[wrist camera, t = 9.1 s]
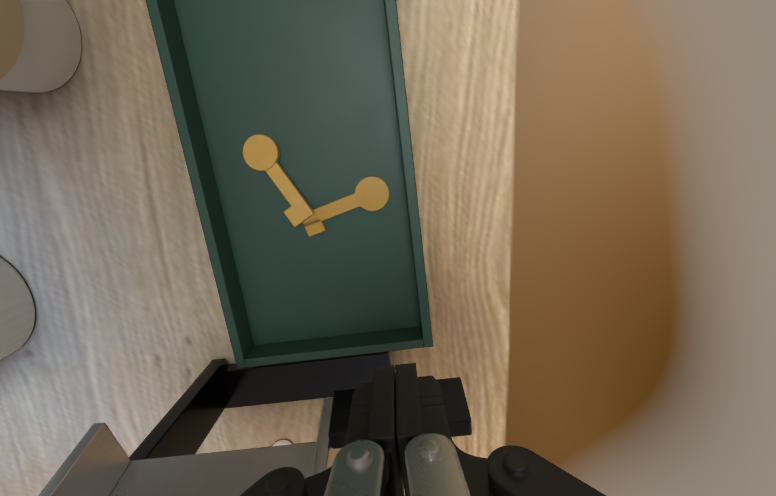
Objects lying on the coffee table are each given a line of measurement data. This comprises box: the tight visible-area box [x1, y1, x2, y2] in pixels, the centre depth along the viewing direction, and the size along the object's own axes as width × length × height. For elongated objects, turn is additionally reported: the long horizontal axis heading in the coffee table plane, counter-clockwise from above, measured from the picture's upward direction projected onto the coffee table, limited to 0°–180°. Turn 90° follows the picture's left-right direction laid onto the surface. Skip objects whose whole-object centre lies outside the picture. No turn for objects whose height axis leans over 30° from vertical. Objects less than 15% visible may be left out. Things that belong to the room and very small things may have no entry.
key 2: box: [303, 176, 389, 237], centre depth 25 cm, size 2×6×1 cm, turn 112°
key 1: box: [243, 134, 315, 227], centre depth 24 cm, size 2×6×1 cm, turn 35°
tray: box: [146, 0, 433, 368], centre depth 23 cm, size 13×30×2 cm, turn 7°
